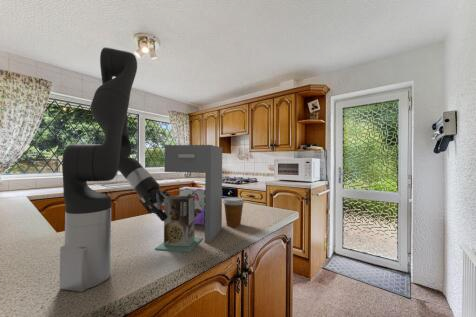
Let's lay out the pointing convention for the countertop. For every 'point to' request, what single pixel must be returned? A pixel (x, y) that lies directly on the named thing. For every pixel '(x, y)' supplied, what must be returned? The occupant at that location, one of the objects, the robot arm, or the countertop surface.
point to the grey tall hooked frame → (210, 164)
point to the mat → (179, 248)
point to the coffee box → (179, 221)
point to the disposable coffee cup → (233, 211)
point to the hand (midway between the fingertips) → (171, 216)
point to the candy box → (196, 202)
